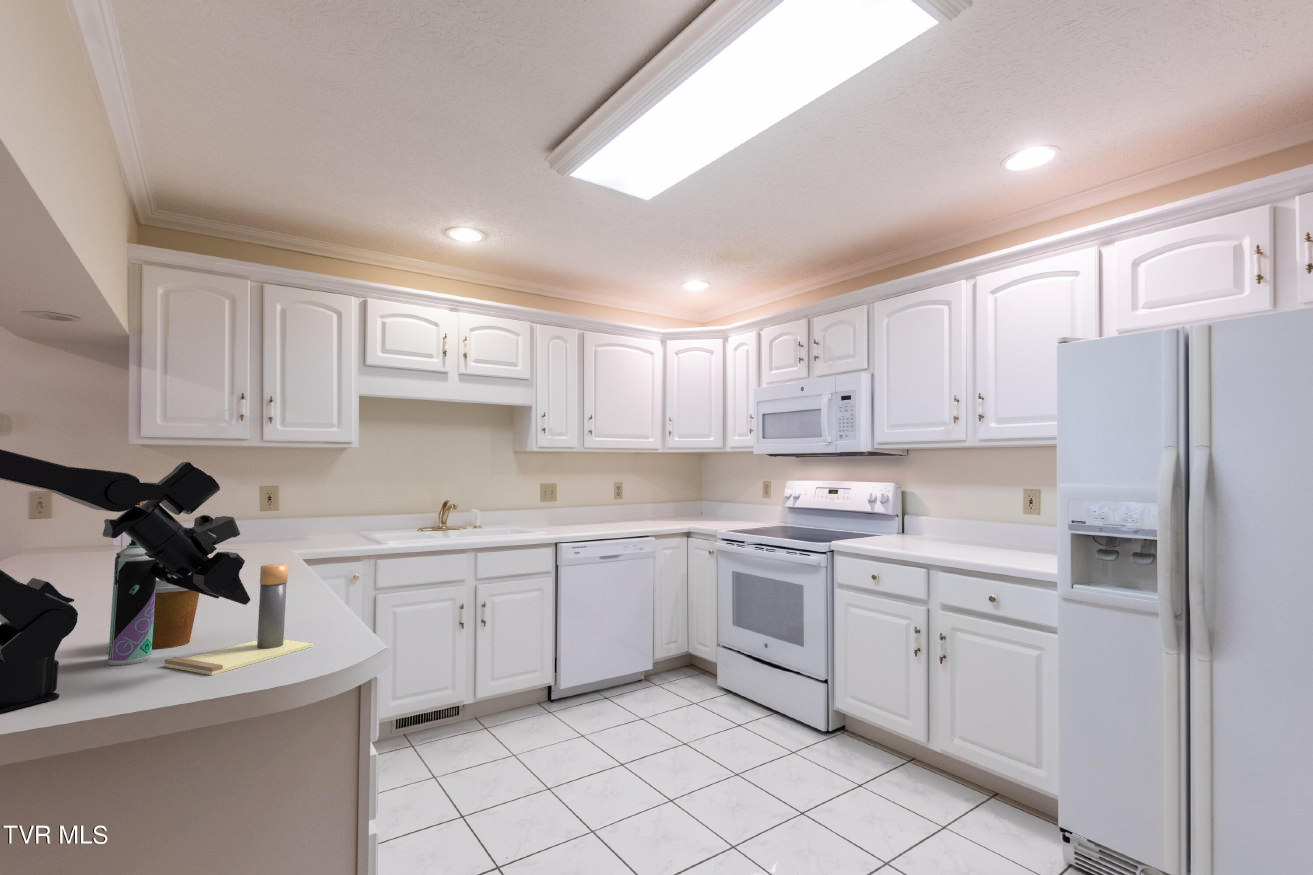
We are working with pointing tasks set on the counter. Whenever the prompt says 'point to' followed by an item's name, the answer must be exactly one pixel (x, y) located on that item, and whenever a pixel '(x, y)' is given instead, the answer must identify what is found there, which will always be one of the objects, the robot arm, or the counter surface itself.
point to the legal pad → (232, 657)
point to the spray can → (132, 607)
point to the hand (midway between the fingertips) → (233, 599)
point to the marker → (272, 605)
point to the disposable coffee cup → (173, 615)
